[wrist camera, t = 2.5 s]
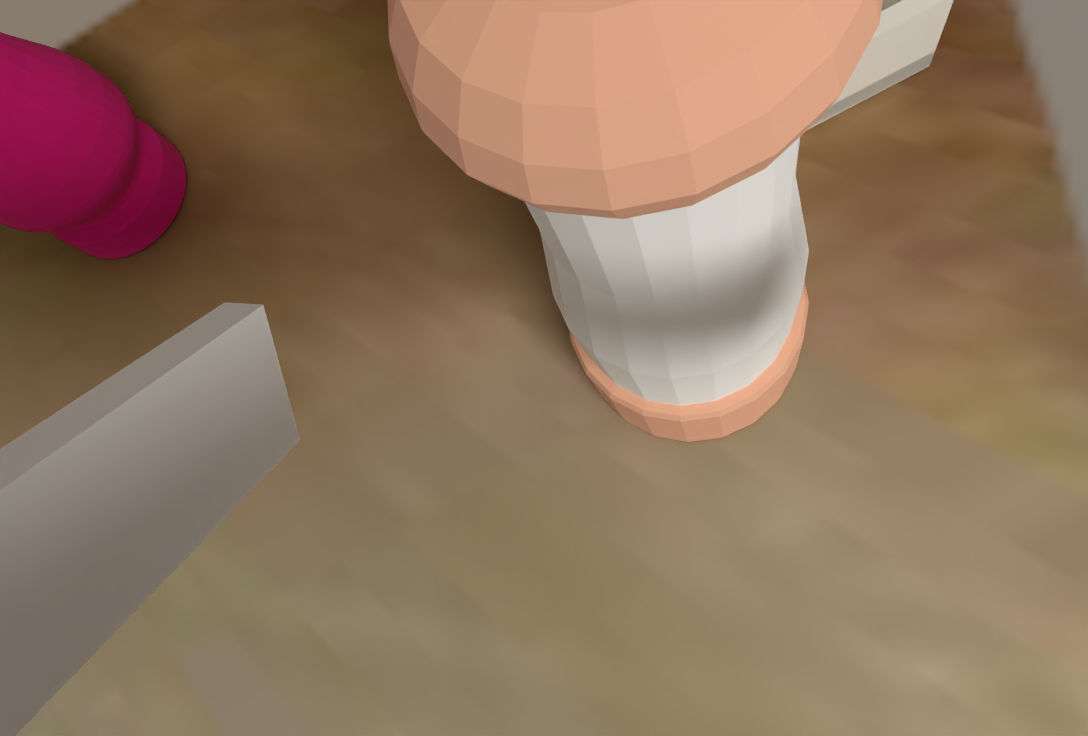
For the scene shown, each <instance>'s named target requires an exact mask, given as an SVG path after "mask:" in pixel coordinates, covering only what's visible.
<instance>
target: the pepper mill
mask: <svg viewBox="0 0 1088 736" xmlns="http://www.w3.org/2000/svg"><path fill="white" fill-rule="evenodd" d="M186 179H187V175H186V170H185V165H184V161H183V158H182V156H181V154H180V153H179V152H178V150H177V149H176V147H175V146H174V145H173V144H172V143H171V142H169V141H168V140H167V139H165V138H164V137H163V136H162V135H160V134H159V133H158V132H157V131H155V130H154V129H153V128H151V127H150V126H149V125H148V124H146V123H145V122H143V121H141V120H139V119H136V118H134V114H133V111H132V109H131V107H130V104H129V102H128V100H127V98H126V97H125V96H124V94H123V93H122V91H121V90H120V89H119V88H118V87H117V86H116V85H115V84H114V83H113V82H112V81H111V80H110V79H109V78H107V77H106V76H104V75H103V74H101V73H100V72H98V71H97V70H95V69H94V68H92V67H91V66H89V65H88V64H86V63H85V62H83V61H82V60H80V59H77V58H75V57H73V56H71V55H68V54H66V53H64V52H62V51H59V50H57V49H55V48H52V47H49V46H46V45H42V44H39V43H35V42H32V41H28V40H24V39H20V38H17V37H13V36H10V35H7V34H4V33H1V32H0V223H1V224H3V225H6V226H8V227H11V228H15V229H19V230H22V231H26V232H48V231H51V232H52V233H53V234H54V235H55V236H56V237H57V238H58V239H60V240H62V241H64V242H66V243H68V244H70V245H72V246H74V247H76V248H77V249H79V250H81V251H83V252H85V253H87V254H89V255H91V256H94V257H98V258H102V259H116V258H123V257H127V256H129V255H132V254H134V253H136V252H139V251H141V250H144V249H145V248H146V247H148V246H149V245H150V244H152V243H153V242H154V241H156V240H157V239H158V238H159V237H160V236H161V235H162V234H163V233H164V232H165V231H166V229H167V228H168V227H169V226H170V225H171V224H172V222H173V220H174V218H175V217H176V215H177V213H178V211H179V209H180V207H181V205H182V202H183V198H184V195H185V189H186Z"/></svg>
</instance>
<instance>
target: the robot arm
mask: <svg viewBox="0 0 1088 736" xmlns="http://www.w3.org/2000/svg"><path fill="white" fill-rule="evenodd" d="M299 441H300V438H299V434H298V431H297V427H296V423H295V420H294V416H293V412H292V409H291V405H290V401H289V398H288V394H287V390H286V387H285V383H284V379H283V376H282V372H281V368H280V365H279V361H278V357H277V354H276V350H275V346H274V343H273V339H272V335H271V332H270V328H269V324H268V321H267V317H266V313H265V310H264V306H263V305H260V304H243V303H226V302H224V303H223V304H221V305H220V306H218V307H217V308H215V309H214V310H212V311H211V312H209V313H208V314H206V315H205V316H203V317H201V318H200V319H198V320H197V321H195V322H194V323H192V324H191V325H189V326H188V327H186V328H185V329H183V330H182V331H180V332H178V333H177V334H175V335H174V336H172V337H171V338H169V339H168V340H166V341H165V342H163V343H162V344H160V345H159V346H157V347H156V348H154V349H152V350H151V351H149V352H148V353H146V354H145V355H143V356H142V357H140V358H139V359H137V360H136V361H134V362H133V363H131V364H129V365H128V366H126V367H125V368H123V369H122V370H120V371H119V372H117V373H116V374H114V375H113V376H111V377H110V378H108V379H106V380H105V381H103V382H102V383H100V384H99V385H97V386H96V387H94V388H93V389H91V390H90V391H88V392H87V393H85V394H83V395H82V396H80V397H79V398H77V399H76V400H74V401H73V402H71V403H70V404H68V405H67V406H65V407H64V408H62V409H60V410H59V411H57V412H56V413H54V414H53V415H51V416H50V417H48V418H47V419H45V420H44V421H42V422H41V423H39V424H37V425H36V426H34V427H33V428H31V429H30V430H28V431H27V432H25V433H24V434H22V435H21V436H19V437H18V438H16V439H14V440H13V441H11V442H10V443H8V444H7V445H5V446H4V447H2V448H1V449H0V736H15V735H16V734H17V733H18V732H19V731H20V730H21V729H22V728H23V727H24V726H25V725H26V724H27V723H28V722H29V721H30V720H31V719H32V718H33V717H34V716H35V715H36V713H37V712H38V711H39V710H40V709H41V708H42V707H43V706H44V705H45V704H46V703H47V702H48V701H49V700H50V699H51V698H52V697H53V696H54V695H55V694H56V693H57V692H58V691H59V690H60V689H61V688H62V687H63V686H64V684H65V683H66V682H67V681H68V680H69V679H70V678H71V677H72V676H73V675H74V674H75V673H76V672H77V671H78V670H79V669H80V668H81V667H82V666H83V665H84V664H85V663H86V662H87V661H88V660H89V659H90V658H91V657H92V655H93V654H94V653H95V652H96V651H97V650H98V649H99V648H100V647H101V646H102V645H103V644H104V643H105V642H106V641H107V640H108V639H109V638H110V637H111V636H112V635H113V634H114V633H115V632H116V631H117V630H118V629H119V628H120V626H121V625H122V624H123V623H124V622H125V621H126V620H127V619H128V618H129V617H130V616H131V615H132V614H133V613H134V612H135V611H136V610H137V609H138V608H139V607H140V606H141V605H142V604H143V603H144V602H145V601H146V600H147V599H148V598H149V596H150V595H151V594H152V593H153V592H154V591H155V590H156V589H157V588H158V587H159V586H160V585H161V584H162V583H163V582H164V581H165V580H166V579H167V578H168V577H169V576H170V575H171V574H172V573H173V572H174V571H175V570H176V569H177V567H178V566H179V565H180V564H181V563H182V562H183V561H184V560H185V559H186V558H187V557H188V556H189V555H190V554H191V553H192V552H193V551H194V550H195V549H196V548H197V547H198V546H199V545H200V544H201V543H202V542H203V541H204V540H205V538H206V537H207V536H208V535H209V534H210V533H211V532H212V531H213V530H214V529H215V528H216V527H217V526H218V525H219V524H220V523H221V522H222V521H223V520H224V519H225V518H226V517H227V516H228V515H229V514H230V513H231V512H232V511H233V510H234V508H235V507H236V506H237V505H238V504H239V503H240V502H241V501H242V500H243V499H244V498H245V497H246V496H247V495H248V494H249V493H250V492H251V491H252V490H253V489H254V488H255V487H256V486H257V485H258V484H259V483H260V482H261V481H262V479H263V478H264V477H265V476H266V475H267V474H268V473H269V472H270V471H271V470H272V469H273V468H274V467H275V466H276V465H277V464H278V463H279V462H280V461H281V460H282V459H283V458H284V457H285V456H286V455H287V454H288V453H289V452H290V450H291V449H292V448H293V447H294V446H295V445H296V444H297V443H298V442H299Z"/></svg>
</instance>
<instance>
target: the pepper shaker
mask: <svg viewBox="0 0 1088 736" xmlns="http://www.w3.org/2000/svg"><path fill="white" fill-rule="evenodd" d="M882 2H883V0H388V30H389V42H390V46H391V50H392V54H393V58H394V62H395V66H396V70H397V74H398V77H399V79H400V81H401V84H402V86H403V88H404V91H405V93H406V95H407V98H408V100H409V102H410V105H411V107H412V109H413V112H414V114H415V116H416V118H417V121H418V123H419V125H420V128H421V130H422V131H423V132H424V133H425V134H426V135H427V136H428V137H429V138H430V139H431V140H432V141H433V142H434V143H435V144H436V145H437V146H438V147H439V148H440V149H441V150H442V151H443V152H444V153H445V154H446V155H447V156H448V157H449V158H450V159H451V160H452V161H453V162H454V163H455V164H457V165H458V166H459V167H460V168H461V169H462V170H463V171H464V172H465V173H466V174H467V175H468V176H470V177H472V178H474V179H476V180H478V181H480V182H482V183H484V184H486V185H488V186H490V187H492V188H494V189H497V190H499V191H501V192H503V193H506V194H508V195H510V196H513V197H515V198H517V199H519V200H522V201H524V202H525V203H526V205H527V207H528V209H529V211H530V213H531V215H532V217H533V218H534V220H535V222H536V224H537V226H538V228H539V230H540V234H541V239H542V244H543V248H544V253H545V258H546V263H547V268H548V273H549V278H550V283H551V288H552V293H553V297H554V299H555V301H556V303H557V305H558V307H559V309H560V312H561V314H562V316H563V318H564V320H565V322H566V324H567V327H568V329H569V331H570V341H571V343H572V346H573V348H574V350H575V352H576V354H577V356H578V358H579V361H580V363H581V365H582V367H583V369H584V371H585V373H586V375H587V376H588V377H589V379H590V380H591V382H592V383H593V384H594V386H595V387H596V389H597V390H598V392H599V393H600V394H601V396H602V397H603V398H604V399H605V400H606V401H607V402H608V403H609V405H610V406H611V407H612V408H613V409H614V410H615V411H616V412H617V413H618V414H619V415H620V416H621V417H622V418H623V419H624V420H625V421H627V422H629V423H631V424H632V425H634V426H636V427H638V428H640V429H642V430H644V431H646V432H648V433H649V434H651V435H653V436H657V437H663V438H668V439H674V440H680V441H685V442H691V441H699V440H707V439H714V438H722V437H724V436H727V435H729V434H731V433H733V432H735V431H737V430H739V429H742V428H744V427H746V426H748V425H750V424H752V423H754V422H755V421H756V420H758V419H759V418H760V417H761V416H762V415H763V414H764V413H765V412H766V411H767V410H768V409H769V408H770V407H771V406H773V405H774V404H775V403H776V402H777V401H778V400H779V399H780V397H781V395H782V393H783V391H784V390H785V388H786V386H787V384H788V382H789V380H790V378H791V377H792V375H793V373H794V371H795V369H796V365H797V361H798V357H799V354H800V350H801V346H802V342H803V338H804V332H805V325H806V319H807V312H808V305H809V301H808V296H807V291H806V286H805V281H804V279H805V273H806V266H807V260H808V253H809V249H808V243H807V238H806V232H805V226H804V221H803V215H802V209H801V204H800V198H799V192H798V187H797V181H796V176H795V173H796V165H797V157H798V149H799V141H800V136H801V135H802V134H803V133H805V132H806V131H807V130H808V129H809V128H810V127H811V126H812V125H813V124H814V123H815V122H816V121H817V120H819V119H820V118H821V117H822V116H823V115H824V113H825V112H826V111H827V110H828V109H829V108H830V106H831V105H832V104H833V103H834V102H835V101H836V99H837V98H838V97H839V96H840V95H841V93H842V91H843V89H844V87H845V86H846V84H847V82H848V80H849V78H850V77H851V75H852V73H853V71H854V69H855V68H856V66H857V64H858V62H859V60H860V59H861V57H862V55H863V53H864V51H865V50H866V48H867V46H868V44H869V42H870V41H871V39H872V37H873V35H874V33H875V32H876V30H877V28H878V26H879V23H880V16H881V9H882Z"/></svg>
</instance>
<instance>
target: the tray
mask: <svg viewBox="0 0 1088 736" xmlns="http://www.w3.org/2000/svg"><path fill="white" fill-rule="evenodd" d="M952 3H953V0H883V2H882V9H881V16H880V23H879V26H878V28H877V30H876V32H875V33H874V35H873V37H872V39H871V41H870V42H869V44H868V46H867V48H866V50H865V51H864V53H863V55H862V57H861V59H860V60H859V62H858V64H857V66H856V68H855V69H854V71H853V73H852V75H851V77H850V78H849V80H848V82H847V84H846V86H845V87H844V89H843V91H842V93H841V95H840V96H839V97H838V98H837V99H836V101H835V102H834V103H833V104H832V105H831V106H830V108H829V109H828V110H827V111H826V112H825V113H824V115H823V116H822V117H821V118H820V119H819V120H817V121H816V122H815V123H814V124H813V125H812V126H811V127H810V128H812V127H814V126H816V125H818V124H820V123H822V122H824V121H826V120H827V119H829V118H831V117H833V116H835V115H837V114H839V113H841V112H843V111H845V110H847V109H848V108H850V107H852V106H854V105H856V104H858V103H860V102H862V101H864V100H866V99H868V98H870V97H871V96H873V95H875V94H877V93H879V92H881V91H883V90H885V89H887V88H889V87H891V86H893V85H894V84H896V83H898V82H900V81H902V80H904V79H906V78H908V77H910V76H912V75H914V74H916V73H917V72H919V71H921V70H923V69H925V68H927V67H929V66H930V63H931V60H932V57H933V55H934V52H935V49H936V47H937V44H938V41H939V38H940V36H941V33H942V30H943V28H944V25H945V22H946V19H947V17H948V14H949V11H950V9H951V6H952ZM810 128H809V129H810Z"/></svg>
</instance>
